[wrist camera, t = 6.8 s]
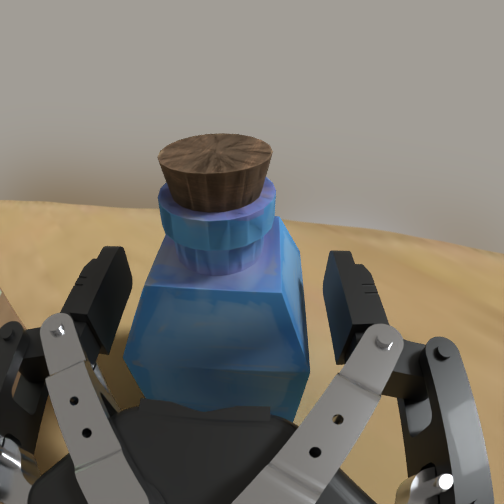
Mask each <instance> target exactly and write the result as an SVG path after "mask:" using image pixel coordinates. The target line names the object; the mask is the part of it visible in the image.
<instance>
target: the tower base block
mask: <svg viewBox="0 0 504 504" xmlns="http://www.w3.org/2000/svg"><path fill="white" fill-rule="evenodd" d="M0 290H1V292H2V293H1V295H0V328H1V327H2V326H3V325H4V324H6V323H8V322H10V321H17V322H19V323H20V324H21V325H22V326H23V328H24V329H25V330H27V329H26V328H25V326H24V325H23V323H22V322H21V320H20V319H19V317H18V316H17V314H16V312H15V311H14V309H13V308H12V306H11V304H10V303H9V301H8V300H7V298H6V296H5V295H4V293H3V291H2V289H1V288H0ZM20 375H21V373H20V372H19V371H18V373H17V376H16V379H15V381H14V384H13V387H12V397H13V396H14V393H15V390H16V387H17V384H18V381H19V378H20Z"/></svg>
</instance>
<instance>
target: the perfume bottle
mask: <svg viewBox="0 0 504 504" xmlns="http://www.w3.org/2000/svg"><path fill="white" fill-rule="evenodd" d="M272 153H273V151H272V149H271V147H270V146H269V145H268V144H267V143H265V142H264V141H262V140H259V139H256V138H253V137H250V136H244V135H239V134H205V135H199V136H193V137H189V138H185V139H181V140H178V141H176V142H174V143H171V144H169V145H167V146H166V147H165V148H164V149H162V150H161V151H160V153H159V155H158V160H159V163H160V166H161V168H162V171H163V174H164V177H165V179H166V183H165V184H164V185H163V186H162V188H161V189H160V192H159V195H158V201H159V208H160V215H161V221H162V225H163V228H164V231H165V234H166V235H165V238H164V240H163V242H162V244H161V247H160V249H159V251H158V254H157V256H156V258H155V261H154V263H153V265H152V268H151V270H150V272H149V275H148V277H147V280H146V282H145V285H144V288H143V291H142V294H141V297H140V300H139V303H138V307H137V310H136V313H135V316H134V320H133V323H132V327H131V330H130V333H129V337H128V340H127V344H126V348H125V351H124V355H123V359H124V361H125V363H126V364H127V366H128V368H129V370H130V372H131V374H132V375H133V377H134V379H135V381H136V382H137V384H138V386H139V388H140V389H141V391H142V393H143V394H144V396H145V398H146V399H153V400H161V401H171V402H174V403H176V404H179V405H182V406H185V407H188V408H191V409H194V410H198V411H201V412H207V411H213V410H218V409H224V408H229V407H234V406H270V414H272V415H276V416H279V417H282V418H285V419H287V420H289V421H291V422H292V423H293V421H294V418H295V415H296V412H297V409H298V407H299V404H300V401H301V398H302V395H303V392H304V389H305V386H306V383H307V380H308V377H309V374H310V364H309V350H308V336H307V324H306V312H305V300H304V290H303V279H302V269H301V259H300V251H299V249H298V248H297V246H296V244H295V242H294V241H293V239H292V237H291V236H290V234H289V232H288V230H287V229H286V227H285V225H284V224H283V222H282V220H281V218H280V217H278V216H274V214H275V198H276V190H275V187H274V185H273V183H272V182H271V181H270V180H269V179H268V178H267V177H266V174H267V171H268V167H269V164H270V160H271V156H272Z"/></svg>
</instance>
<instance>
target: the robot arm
mask: <svg viewBox="0 0 504 504" xmlns="http://www.w3.org/2000/svg"><path fill="white" fill-rule="evenodd" d="M131 289H132V275H131V271H130V268H129V264H128V261H127V257H126V254H125V251H124V248H123V247H119V246H105V247H103V249H102V250H101V252H100V254H99V256H98V258H97V259H92V260H91V261H90V262H89V263H88V264H87V265H86V266H85V267H84V268H83V270H82V272H81V273H80V275H79V278H78V279H77V281H76V283H75V286H73V288H72V290H71V292H70V294H69V296H68V298H67V300H66V302H65V304H64V306H63V308H62V310H61V312H60V313H57V314H54V315H51V316H50V317H48V318H47V319H46V320H45V321H44V322H43V324H42V326H41V327H39V328H34V329H28V330H25V329H24V328H23V326H22V325H21V324H20V323H19V322H17V321H10V322H8V323H6V324H4V325H3V326H2V327H1V328H0V503H3V504H377V503H376V502H375V501H373V500H372V499H371V498H370V497H369V496H368V495H367V494H366V493H365V492H364V491H363V490H362V489H361V488H360V487H359V486H358V485H357V484H356V483H355V482H353V481H352V480H351V479H350V478H349V477H348V476H347V475H346V474H345V473H344V472H343V471H342V470H341V469H340V468H339V467H340V466H341V464H342V463H343V461H344V460H345V458H346V457H347V455H348V454H349V452H350V450H351V449H352V447H353V446H354V444H355V442H356V441H357V439H358V438H359V436H360V434H361V433H362V431H363V429H364V427H365V426H366V424H367V422H368V420H369V419H370V417H371V415H372V413H373V412H374V410H375V408H376V406H377V404H378V402H379V400H380V398H381V395H386V396H391V397H396V398H397V401H398V407H399V413H400V419H401V425H402V432H403V439H404V447H405V455H406V463H407V472H408V478H407V479H406V480H404V481H403V482H402V483H401V484H400V486H399V487H398V489H397V492H396V499H395V504H494V496H493V488H492V481H491V474H490V468H489V462H488V457H487V452H486V447H485V442H484V437H483V433H482V428H481V424H480V420H479V416H478V412H477V408H476V405H475V401H474V397H473V394H472V391H471V387H470V384H469V381H468V377H467V374H466V371H465V368H464V365H463V362H462V359H461V356H460V353H459V350H458V348H457V347H456V345H455V344H454V343H453V342H452V341H450V340H449V339H447V338H444V337H434V338H432V339H430V340H429V341H428V342H427V344H426V345H424V344H419V343H415V342H410V341H407V340H404V339H403V338H402V336H401V334H400V333H399V332H398V331H397V330H396V329H395V328H393V327H392V326H390V325H389V323H388V320H387V317H386V314H385V311H384V308H383V305H382V302H381V300H380V297H379V294H378V291H377V289H376V286H375V283H374V280H373V278H372V275H371V273H370V272H369V271H368V270H367V269H366V268H365V267H364V266H363V264H355V263H354V260H353V257H352V254H351V252H350V251H330V253H329V257H328V262H327V266H326V271H325V276H324V280H323V296H324V301H325V306H326V311H327V316H328V322H329V327H330V332H331V338H332V343H333V349H334V354H335V360H336V365H342V364H345V365H344V367H343V368H342V370H341V371H340V373H338V374H337V375H336V376H335V377H334V379H333V380H332V382H331V383H330V385H329V386H328V388H327V389H326V390H325V392H324V393H323V395H322V396H321V398H320V399H319V400H318V402H317V403H316V405H315V406H314V407H313V409H312V410H311V411H310V413H309V414H308V415H307V417H306V418H305V419H304V421H303V422H302V423H301V425H300V426H299V427H298V426H297V425H296V424H294V423H292V422H291V421H289V420H287V419H285V418H282V417H279V416H276V415H272V414H270V406H234V407H229V408H224V409H218V410H213V411H207V412H201V411H198V410H194V409H191V408H188V407H185V406H182V405H179V404H176V403H174V402H171V401H161V400H153V399H145V398H141V400H140V405H139V406H136V407H132V408H128V409H126V410H123V411H121V409H120V408H119V406H118V405H117V403H116V401H115V399H114V398H113V395H112V393H111V391H110V389H109V387H108V385H107V382H106V380H105V378H104V376H103V373H102V371H101V369H100V366H99V364H98V362H97V357H98V354H106V355H109V352H110V349H111V346H112V343H113V340H114V337H115V334H116V331H117V329H118V326H119V323H120V320H121V317H122V314H123V311H124V309H125V306H126V303H127V300H128V298H129V295H130V292H131ZM18 371H19V372H20V373H21V375H20V378H19V381H18V384H17V387H16V390H15V393H14V396H13V397H12V387H13V384H14V381H15V379H16V376H17V373H18ZM48 394H49V395H50V399H51V402H52V405H53V408H54V412H55V415H56V418H57V421H58V424H59V426H60V429H61V432H62V435H63V438H64V440H65V443H66V445H67V448H68V451H69V453H68V454H67V455H66V456H65V457H64V458H62V459H61V460H60V461H59V462H57V463H56V464H55V465H54V466H53V467H51V468H50V469H49V470H48V471H47V472H45V473H44V474H43V475H42V476H41V477H40V475H41V473H40V470H39V468H38V466H37V462H36V459H35V458H34V451H35V447H36V442H37V437H38V433H39V429H40V425H41V420H42V416H43V413H44V409H45V405H46V401H47V398H48Z"/></svg>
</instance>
